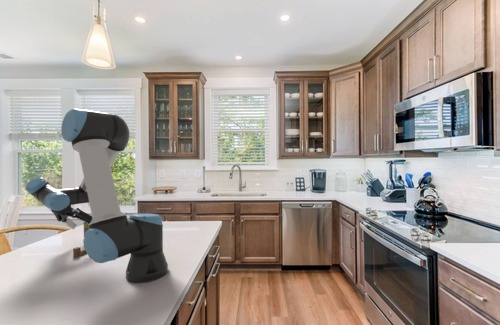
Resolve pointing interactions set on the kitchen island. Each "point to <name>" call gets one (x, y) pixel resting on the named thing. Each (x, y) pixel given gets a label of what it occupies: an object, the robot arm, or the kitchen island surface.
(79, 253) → the rail
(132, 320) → the kitchen island surface
